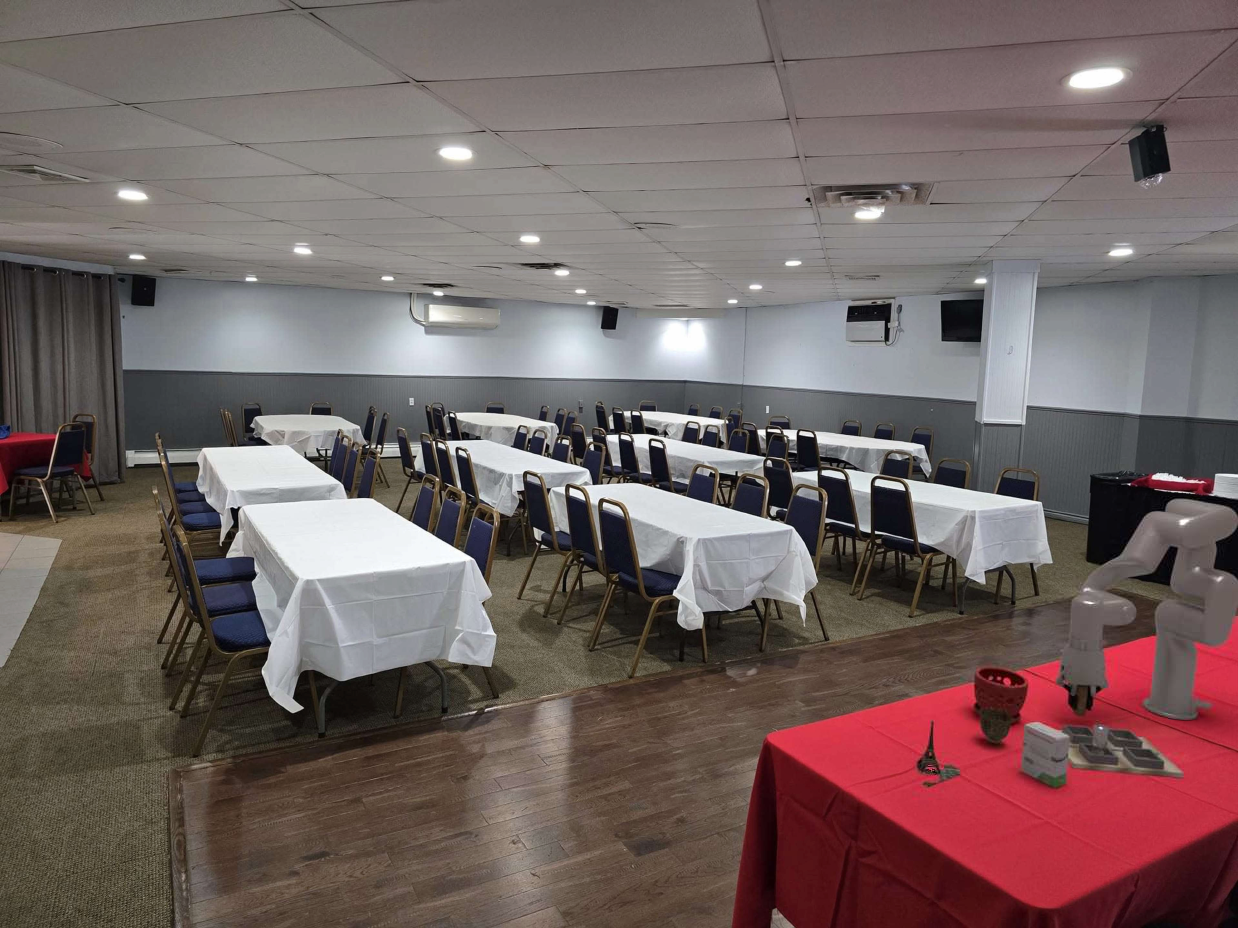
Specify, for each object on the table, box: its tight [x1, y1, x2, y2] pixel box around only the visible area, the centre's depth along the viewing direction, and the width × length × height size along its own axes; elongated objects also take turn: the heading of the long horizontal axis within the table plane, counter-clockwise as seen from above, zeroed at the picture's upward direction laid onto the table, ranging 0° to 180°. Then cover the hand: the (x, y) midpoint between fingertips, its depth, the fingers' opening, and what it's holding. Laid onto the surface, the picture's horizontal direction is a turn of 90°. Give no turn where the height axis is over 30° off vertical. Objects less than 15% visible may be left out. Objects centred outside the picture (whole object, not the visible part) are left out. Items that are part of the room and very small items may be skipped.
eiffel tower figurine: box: [915, 718, 962, 788], centre depth 184 cm, size 15×10×13 cm
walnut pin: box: [1072, 685, 1088, 717], centre depth 210 cm, size 3×3×8 cm
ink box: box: [1020, 721, 1070, 789], centre depth 181 cm, size 9×5×12 cm, turn 26°
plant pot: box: [973, 666, 1029, 724], centre depth 213 cm, size 13×13×12 cm
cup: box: [979, 707, 1012, 746], centre depth 198 cm, size 8×7×8 cm
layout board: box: [1056, 723, 1184, 779], centre depth 193 cm, size 24×18×9 cm
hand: (1080, 707), depth 210 cm, fingers closed on walnut pin, 3 cm apart
